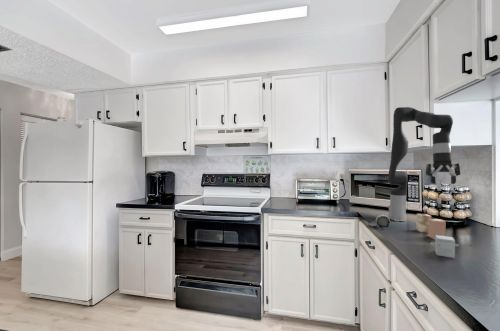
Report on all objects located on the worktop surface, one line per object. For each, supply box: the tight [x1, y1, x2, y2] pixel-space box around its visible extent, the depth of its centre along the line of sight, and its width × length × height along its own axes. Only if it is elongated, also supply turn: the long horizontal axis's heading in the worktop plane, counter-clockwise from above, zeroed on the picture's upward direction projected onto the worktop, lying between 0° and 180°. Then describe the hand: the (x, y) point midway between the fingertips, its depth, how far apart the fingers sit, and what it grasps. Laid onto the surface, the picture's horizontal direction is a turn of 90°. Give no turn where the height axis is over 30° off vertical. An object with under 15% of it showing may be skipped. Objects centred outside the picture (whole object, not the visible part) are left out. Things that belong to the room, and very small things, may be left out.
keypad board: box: [426, 241, 460, 247], centre depth 130 cm, size 26×12×1 cm, turn 170°
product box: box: [434, 235, 456, 259], centre depth 106 cm, size 6×6×7 cm
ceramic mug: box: [369, 214, 392, 230], centre depth 150 cm, size 11×8×8 cm
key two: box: [427, 218, 447, 240], centre depth 124 cm, size 5×5×9 cm
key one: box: [415, 213, 432, 234], centre depth 136 cm, size 5×5×9 cm
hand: (443, 183), depth 128 cm, fingers open, 8 cm apart
